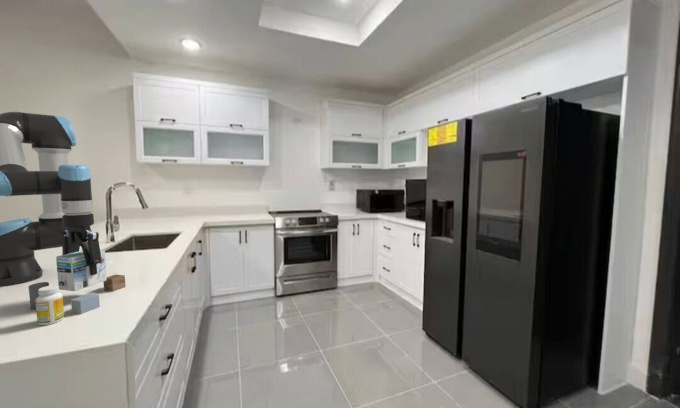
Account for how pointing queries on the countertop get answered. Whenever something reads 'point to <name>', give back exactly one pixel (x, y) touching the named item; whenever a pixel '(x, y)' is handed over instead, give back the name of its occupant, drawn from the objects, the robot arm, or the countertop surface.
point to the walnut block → (114, 282)
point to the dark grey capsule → (35, 293)
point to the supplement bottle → (49, 305)
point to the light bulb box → (77, 271)
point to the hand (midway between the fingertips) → (83, 282)
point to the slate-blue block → (85, 303)
